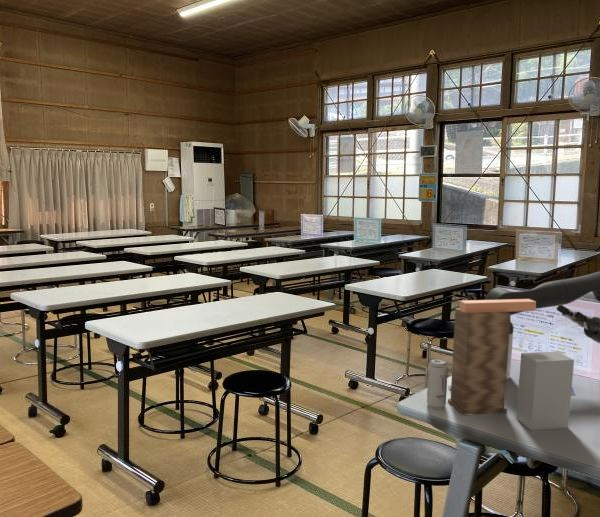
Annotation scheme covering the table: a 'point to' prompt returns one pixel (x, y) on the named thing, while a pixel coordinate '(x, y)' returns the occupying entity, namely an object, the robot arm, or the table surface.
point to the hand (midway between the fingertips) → (566, 310)
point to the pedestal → (480, 362)
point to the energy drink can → (437, 384)
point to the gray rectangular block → (545, 390)
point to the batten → (497, 305)
